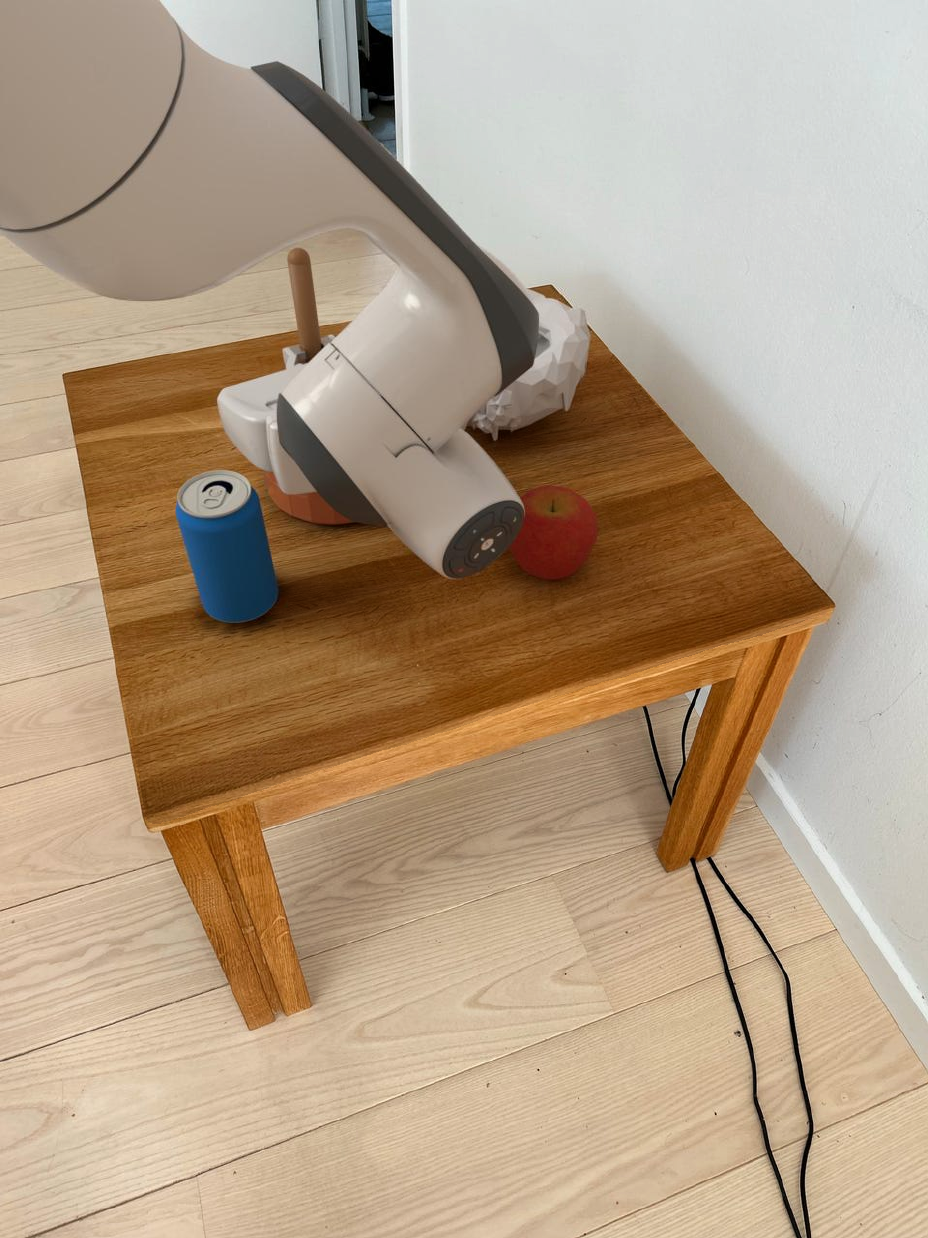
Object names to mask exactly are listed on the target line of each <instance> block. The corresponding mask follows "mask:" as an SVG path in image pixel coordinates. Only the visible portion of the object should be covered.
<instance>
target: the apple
mask: <svg viewBox="0 0 928 1238" xmlns="http://www.w3.org/2000/svg"><path fill="white" fill-rule="evenodd" d="M519 497H520V499H521V501H522V503H523V505H524V510H525V516H524V521H523V524H522V527H521V529H520V531H519V533H518V535H517V537H516V539H515V540H514V542H513V543H512V544H511V545H510V546H509V547H508V548H509V550H510V552H511V555H512V556H513V558H514V559H515V560H516V562H517V564H518V565H519V566H520V567H521V569H522V570H523V571H524V572H526V573H527V574H529V575H531V576H533V577H535V578H539V579H541V580H561V579H564V578H567V577H570V576H571V575H572V574H573V573H575V572H576V571H577V570H578V569H580V567H582V566H583V565H584V563H585V562H586V561H587V559H588V558H589V556H590V554H591V553H592V550H593V548H594V546H595V543H596V541H597V540H598V535H599V524H598V518H597V515H596V512H595V510H594V509H593V507H592V506H591V505H590V503H589V502H588V501H587V499H586V498H584V497H583V496H581V495H580V494H578V493H577V492H575V491H574V490H572V489H571V488H567V487H564V486H559V485H543V486H539V487H535V488H532V489H528V490H527V491H526V492H524V493H523V494H522V495H520V496H519Z"/></svg>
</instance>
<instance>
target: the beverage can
mask: <svg viewBox="0 0 928 1238" xmlns="http://www.w3.org/2000/svg"><path fill="white" fill-rule="evenodd" d="M176 496H177V497H176V499H177V502H176V504H175V517H176V521H177V524H178V526H179V531H180V534H181V537H182V540H183V544H184V548H185V550H186V554H187V557H188V561H189V565H190V567H191V571H192V574H193V578H194V580H195V584H196V588H197V590H198V594H199V597H200V601H201V604H202V607H203V609H204V611H205V612H206V613H207V614H208V615H209V616H210V617H211V618H213V619H215V620H217V621H220V622H224V623H230V624H231V623H232V624H235V623H236V624H237V623H245V622H249V621H252V620H255V619H258V618H260V617H261V616H263V615H265V614H267V612H268V611H269V610H271V609H272V607H273V606H274V605H275V603H276V602H277V599H278V596H279V586H278V581H277V576H276V572H275V566H274V562H273V556H272V553H271V548H270V544H269V543H270V542H269V537H268V533H267V529H266V524H265V519H264V514H263V509H262V506H261V500H260V496H259V494H258V492H257V491H256V489H255V488H254V487H253V486H252V485H251V483H250V481H249V479H248V478H246V476H244V475H243V474H241V473H239V472H236V471H233V470H227V469H215V470H209V471H205V472H201V473H198V474H196V475H194V476H192V477H190V478H189V479H188V480H187V481H185V482H184V483H183V484H182V486H180V488H179V490H178V492H177V495H176Z"/></svg>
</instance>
